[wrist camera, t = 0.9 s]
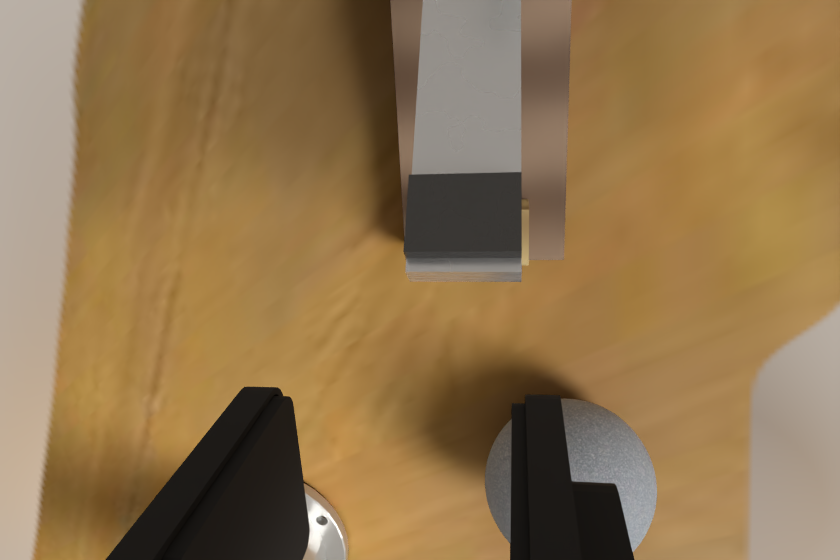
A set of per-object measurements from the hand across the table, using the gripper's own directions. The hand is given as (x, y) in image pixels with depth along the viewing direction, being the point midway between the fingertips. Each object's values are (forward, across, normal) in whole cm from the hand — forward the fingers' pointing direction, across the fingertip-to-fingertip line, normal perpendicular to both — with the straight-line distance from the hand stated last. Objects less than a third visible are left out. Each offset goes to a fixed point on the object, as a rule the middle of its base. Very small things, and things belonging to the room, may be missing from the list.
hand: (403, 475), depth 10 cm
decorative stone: (+29, -5, +18) cm, 35 cm away
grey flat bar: (+19, 0, -5) cm, 19 cm away
